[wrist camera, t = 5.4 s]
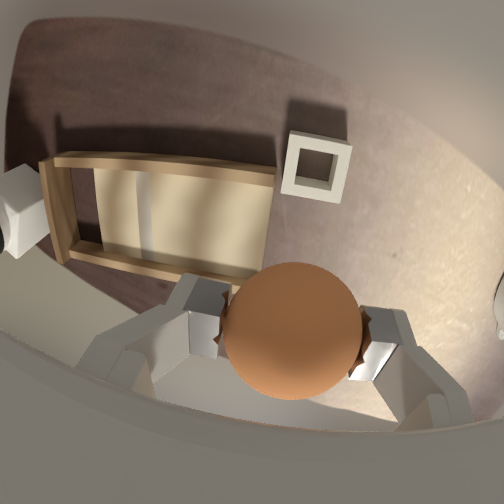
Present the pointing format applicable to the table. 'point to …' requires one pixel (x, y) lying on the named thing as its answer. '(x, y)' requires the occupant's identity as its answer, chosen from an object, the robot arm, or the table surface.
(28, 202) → the medicine bottle
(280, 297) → the ball
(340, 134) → the table surface
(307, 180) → the square ring
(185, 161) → the lane
